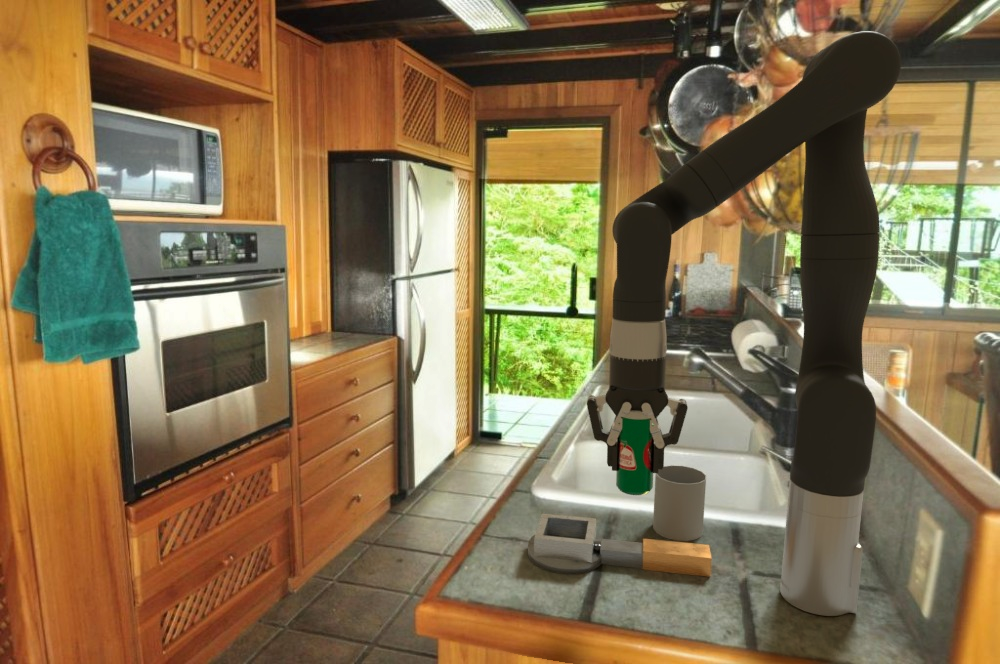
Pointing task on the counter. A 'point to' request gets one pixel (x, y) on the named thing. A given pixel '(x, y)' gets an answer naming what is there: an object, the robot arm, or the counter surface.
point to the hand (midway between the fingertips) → (634, 469)
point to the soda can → (635, 454)
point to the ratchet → (609, 550)
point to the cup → (679, 503)
